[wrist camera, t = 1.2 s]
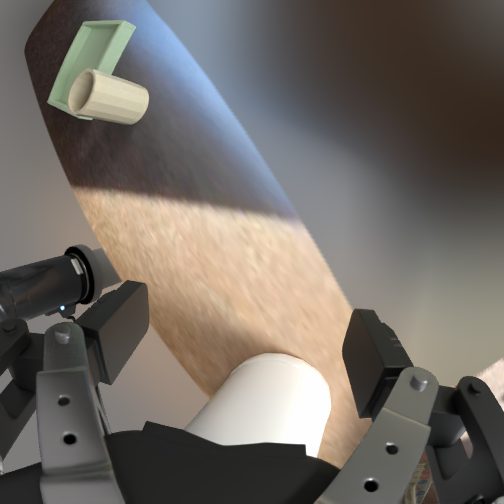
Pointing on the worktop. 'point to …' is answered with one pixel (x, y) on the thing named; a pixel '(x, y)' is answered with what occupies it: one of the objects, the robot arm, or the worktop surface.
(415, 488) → the beverage carton
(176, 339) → the worktop surface
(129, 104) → the cup
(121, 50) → the tray
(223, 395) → the bottle
